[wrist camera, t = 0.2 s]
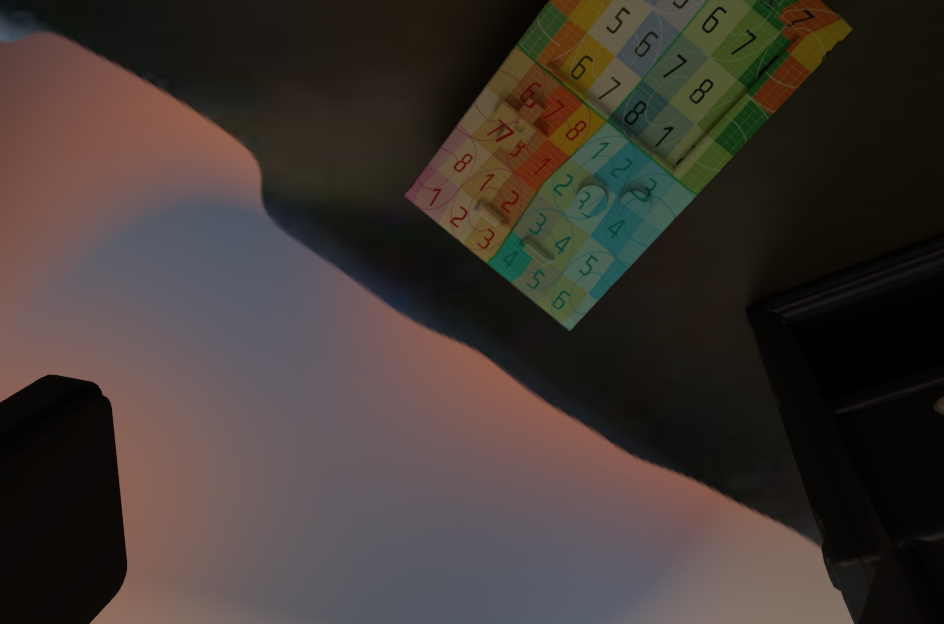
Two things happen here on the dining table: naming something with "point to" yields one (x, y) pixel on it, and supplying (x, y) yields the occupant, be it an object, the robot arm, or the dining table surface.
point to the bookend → (863, 405)
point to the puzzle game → (612, 132)
